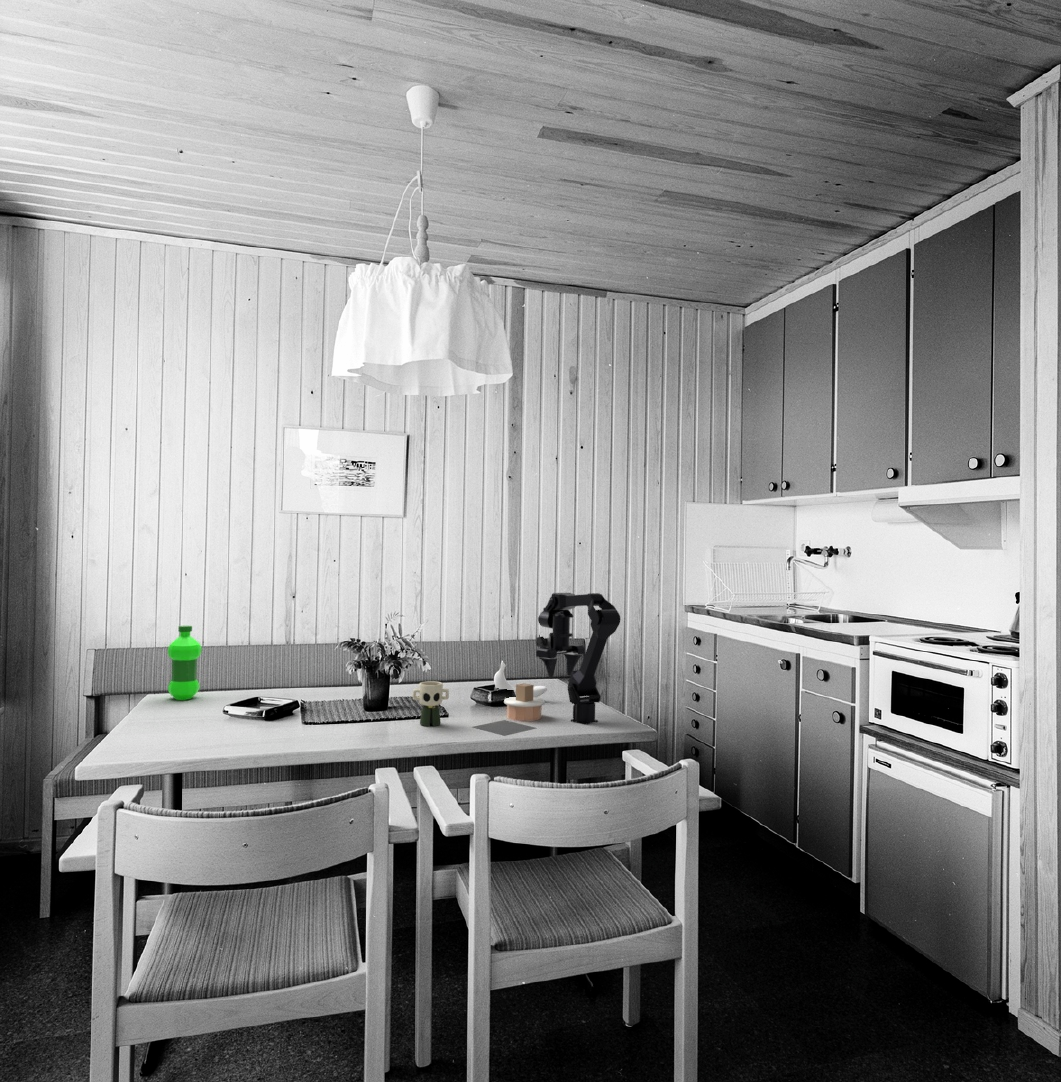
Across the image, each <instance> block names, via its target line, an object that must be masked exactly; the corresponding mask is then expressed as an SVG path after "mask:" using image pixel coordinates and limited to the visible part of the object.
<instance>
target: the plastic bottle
mask: <svg viewBox="0 0 1061 1082" xmlns="http://www.w3.org/2000/svg"><path fill="white" fill-rule="evenodd" d="M177 629H178V633H179V636H178V637H176V638H175V639H174V640H173V641H172V642H171V643H170V644H169V646H168V647H167V648H168V649H167V654H168V655H167V656H168V657H169V658H170V659H171V677H170V679H171V681H170V682H169V683H168V686H167V691H168V694H170V696H172V697H173V698H174V699H175V700H176V701H177V700H178V701H185V700H192V698H194V696H195V695H196V694H198V693H199V690H200V683H199V681H198V679H197V676H198V674H197V672H198V669H197V668H198V658H200V656H201V654H202V646H201V644H200V642H198V640H196V639H195V638H194V637H192V636H191V632H192V631H193V626H192V625H179V626H178V628H177Z"/></svg>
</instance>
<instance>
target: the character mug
mask: <svg viewBox="0 0 1061 1082" xmlns="http://www.w3.org/2000/svg"><path fill="white" fill-rule="evenodd" d="M443 686H444V684H443V682H440V681H434V680H433V681H432V680H431V681H430V680H429V681H422V682H419V687H418V688H413V690H412V700H413V701H418V702H419V704H420V705H421V706H422V708H421V713H420V719H419V724H420V726H423V727H430V725H432V727H437V726H440V725H441V713H440V707H439V706H440V705H441V704H442V702H443V700H448V699H449V693H450V690H449V689H448V688H443ZM417 693H419V694H418V696H417ZM443 693H445V696H444V695H443Z"/></svg>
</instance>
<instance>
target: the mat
mask: <svg viewBox="0 0 1061 1082" xmlns="http://www.w3.org/2000/svg"><path fill="white" fill-rule="evenodd" d="M472 728H474V729H477V730H481V731H485V732H489V733H492V734H496V735H499V736H509V735H515V734H517V733H522V732H526V731H531V730H535V729H537V727H535V726H530V725H526V724H522V723H518V722H514V721H509V720H506V719H503V720H498V721H494V722H493V721H492V722H488V723H483V724H479V725H474V726H472Z"/></svg>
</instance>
